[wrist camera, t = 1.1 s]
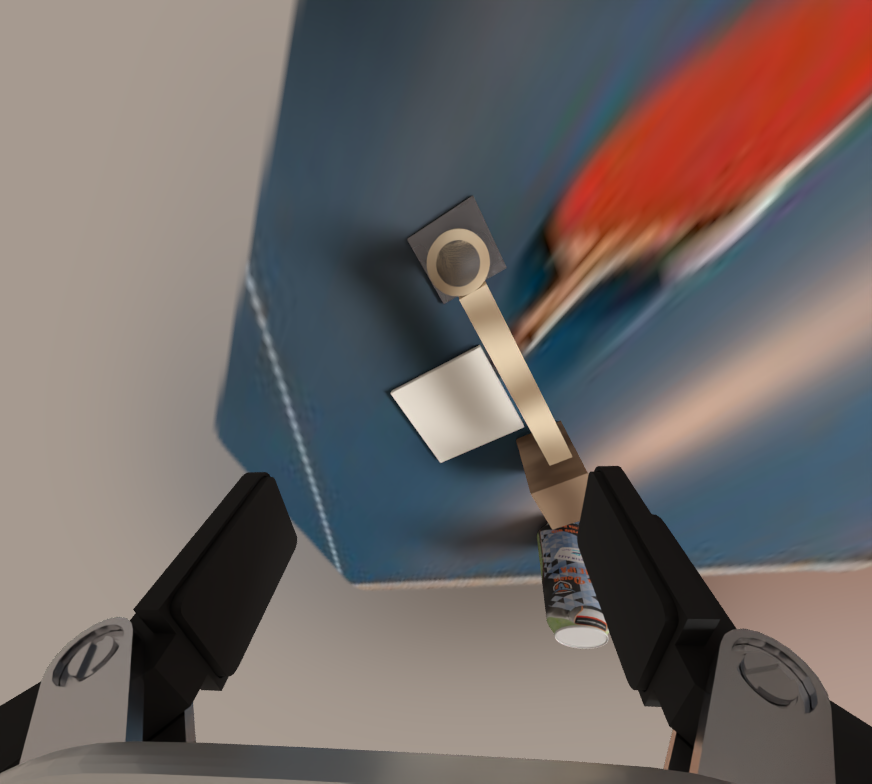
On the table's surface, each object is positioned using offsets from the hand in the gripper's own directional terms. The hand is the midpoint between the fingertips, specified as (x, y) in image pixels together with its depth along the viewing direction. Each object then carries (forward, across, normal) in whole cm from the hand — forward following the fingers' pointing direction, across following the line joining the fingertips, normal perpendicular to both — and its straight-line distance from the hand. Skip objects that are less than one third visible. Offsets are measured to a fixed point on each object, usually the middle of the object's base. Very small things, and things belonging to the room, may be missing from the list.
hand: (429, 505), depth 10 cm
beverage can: (+23, -12, +29) cm, 39 cm away
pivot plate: (+22, -1, -5) cm, 23 cm away
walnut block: (+22, -10, +15) cm, 29 cm away
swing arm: (+22, -5, +2) cm, 22 cm away
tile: (+22, -1, +10) cm, 25 cm away
